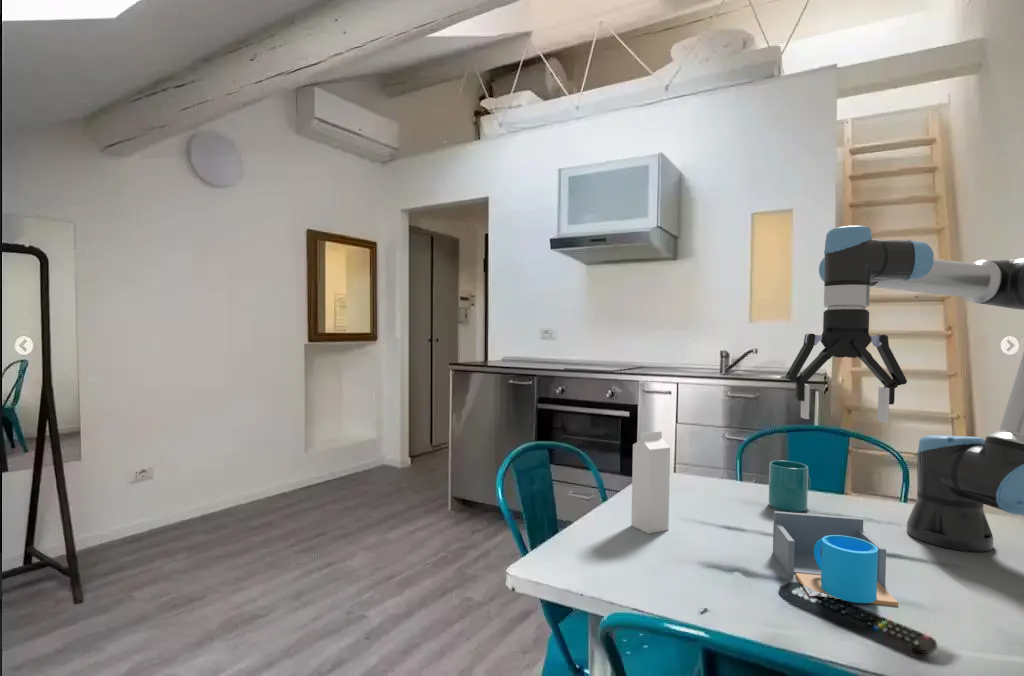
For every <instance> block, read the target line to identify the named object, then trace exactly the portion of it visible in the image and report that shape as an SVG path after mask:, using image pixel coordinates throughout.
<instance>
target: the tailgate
mask: <svg viewBox="0 0 1024 676" xmlns="http://www.w3.org/2000/svg"><path fill="white" fill-rule="evenodd" d="M795 578H796V579H797V581H798V582H799V584H800V585H801V584H802V585H804V586H807V587H809V588H811V589H812V590H814V591H816V592H820V593H824V594H827V595H830V594H828V593H826V592H825V591H824V590H823V589H822V587H821V575H811V574H801V573H796V574H795ZM802 585H801V586H802ZM831 596H832V595H831ZM844 601H846V600H844ZM870 604H874V605H884V606H891V607H899V601H898V600H897V599H896V598H895V597H894V596H893V595H892V594H891V593H890V592H889V591H888V590H887V589H885V587H884V585H881V584H880V583H879V582H878V581H877V600H875V601H874V602H871V603H870Z"/></svg>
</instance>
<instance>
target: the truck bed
mask: <svg viewBox="0 0 1024 676" xmlns="http://www.w3.org/2000/svg"><path fill="white" fill-rule="evenodd" d="M829 535H842V536H849V537H854V538H858V539H862V540H865V541H867V542H870V543H872V544H874V545H875V546H876V547H877V548H878V564H877V581H878V582H879V583H880V584H881V585H882V586H886V573H887V572H886V571H887V565H886V564H887V549H886V548H885V547H884V546H883V545H881V543H879V542H878V541H877V540H876V539H874V537H872V536H871V535H870V534H869V533H867V532H866V531H865V530H864V519H863V518H862V517H853V516H852V517H851V516H839V515H838V516H837V515H827V514H815V513H813V514H812V513H802V512H787V511H778V510H777V511H775V510H774V511H773V535H772V554H773V555H774V557H775V558H776V560H777V562H779V564H780V566H781V567H782V570H784V572H785V573H786V575H787V576H788V577H795V575H796V573H801V574H811V575H821V570H820V568H819V567H818V565H817V563H816V560H815V557H814V546H815V544H816V542H817V541H818V540H820V539H822V538H823V537H825V536H829ZM821 558H822V547H821Z"/></svg>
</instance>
